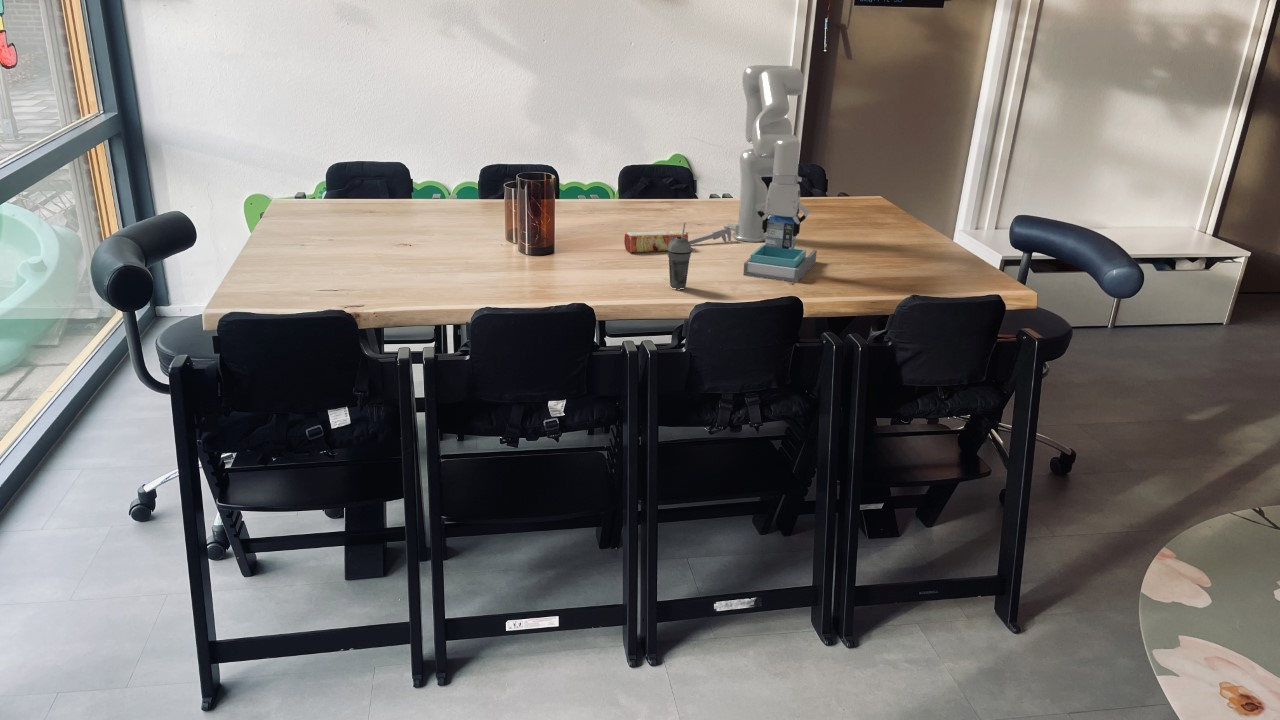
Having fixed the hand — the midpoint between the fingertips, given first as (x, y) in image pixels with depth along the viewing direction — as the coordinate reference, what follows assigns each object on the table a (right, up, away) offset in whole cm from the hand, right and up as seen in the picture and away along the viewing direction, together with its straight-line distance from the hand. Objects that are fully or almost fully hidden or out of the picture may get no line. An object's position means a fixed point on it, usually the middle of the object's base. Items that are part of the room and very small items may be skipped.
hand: (780, 233), depth 313 cm
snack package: (-39, -3, +25) cm, 46 cm away
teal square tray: (0, -10, +4) cm, 11 cm away
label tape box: (0, -4, +2) cm, 5 cm away
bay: (+1, -10, +8) cm, 13 cm away
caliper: (-22, 0, +34) cm, 41 cm away
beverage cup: (-33, -18, -14) cm, 40 cm away
